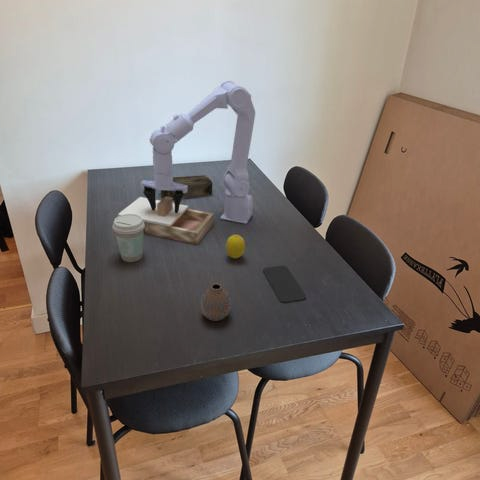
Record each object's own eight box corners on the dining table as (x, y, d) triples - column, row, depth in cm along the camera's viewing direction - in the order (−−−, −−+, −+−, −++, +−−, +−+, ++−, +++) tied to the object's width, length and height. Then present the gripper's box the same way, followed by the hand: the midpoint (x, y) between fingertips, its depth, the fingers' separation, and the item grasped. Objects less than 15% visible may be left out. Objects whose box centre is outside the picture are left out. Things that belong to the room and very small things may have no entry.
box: (213, 224, 131) (213, 213, 129) (197, 244, 120) (197, 233, 117) (164, 214, 135) (164, 204, 133) (144, 233, 124) (143, 222, 121)
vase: (195, 317, 92) (194, 288, 87) (212, 302, 97) (213, 273, 92) (218, 329, 89) (219, 300, 84) (235, 313, 94) (237, 284, 89)
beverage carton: (213, 196, 151) (213, 180, 147) (163, 202, 144) (162, 185, 141) (207, 188, 157) (207, 172, 153) (159, 193, 150) (158, 177, 147)
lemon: (240, 251, 117) (241, 228, 113) (247, 261, 113) (248, 238, 109) (222, 254, 115) (223, 231, 111) (229, 264, 111) (230, 241, 107)
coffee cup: (111, 254, 112) (106, 218, 106) (138, 245, 117) (135, 210, 111) (124, 268, 107) (120, 230, 101) (152, 258, 112) (149, 222, 106)
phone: (280, 302, 98) (261, 268, 110) (280, 305, 98) (261, 270, 110) (307, 298, 100) (286, 265, 112) (307, 300, 100) (285, 267, 112)
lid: (188, 208, 131) (188, 195, 128) (170, 226, 119) (169, 213, 117) (140, 198, 135) (139, 186, 132) (118, 216, 123) (116, 202, 121)
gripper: (189, 168, 121) (190, 207, 128) (145, 163, 123) (148, 202, 130) (183, 176, 115) (184, 217, 122) (136, 171, 117) (140, 212, 124)
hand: (165, 210), depth 125 cm, fingers open, 7 cm apart
